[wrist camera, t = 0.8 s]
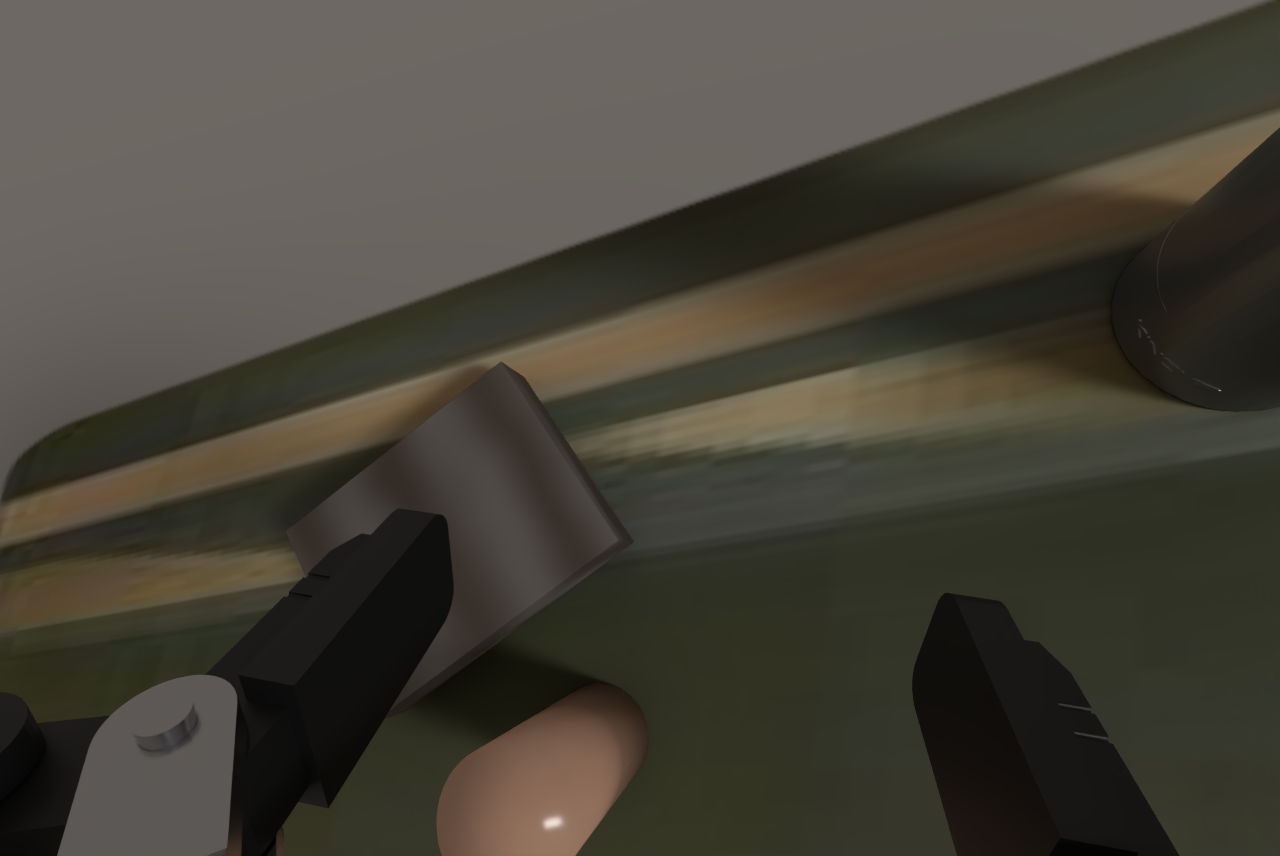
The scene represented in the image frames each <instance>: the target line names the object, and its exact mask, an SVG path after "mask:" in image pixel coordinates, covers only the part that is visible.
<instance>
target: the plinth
mask: <svg viewBox="0 0 1280 856" xmlns="http://www.w3.org/2000/svg"><path fill="white" fill-rule="evenodd" d="M399 508H400V509H408V510H414V511H421V512H428V513H434V514H441V515H443V516H444V517H445V518H446V520H447V524H448V531H449V541H450V551H451V561H452V571H453V582H454V593H453V600H452V604H451V608H450V611H449V614H448V616H447V619H446V621H445V623H444V624H443V626H442V628H441V629H440V631H439V632H438V634H437V636H436V637H435V639H434V640H433V642H432V644H431V645H430V647H429V648H428V650H427V652H426V653H425V655H424V656H423V658H422V660H421V661H420V663H419V664H418V666H417V667H416V669H415V671H414V672H413V674H412V675H411V677H410V679H409V680H408V682H407V683H406V685H405V687H404V688H403V690H402V691H401V693H400V695H399V696H398V698H397V699H396V701H395V703H394V704H393V706H392V707H391V709H390V711H389V712H388V714H387V715H386V717H385V718H388V717H390V716H393V715H395V714H398V713H401V712H403V711H406V710H408V709H410V708H411V707H412V706H414V705H415V704H416V703H418V702H419V701H420V700H422V699H423V698H424V697H426V696H427V695H428V694H430V693H431V692H432V691H434V690H435V689H436V688H438V687H439V686H440V685H442V684H443V683H444V682H446V681H447V680H449V679H450V678H451V677H453V676H454V675H455V674H457V673H458V672H459V671H461V670H462V669H463V668H465V667H466V666H467V665H469V664H470V663H471V662H473V661H474V660H475V659H477V658H478V657H479V656H481V655H482V654H484V653H485V652H486V651H488V650H489V649H490V648H492V647H493V646H494V645H496V644H497V643H498V642H500V641H501V640H502V639H504V638H505V637H506V636H508V635H509V634H510V633H512V632H513V631H514V630H516V629H517V628H519V627H520V626H521V625H523V624H524V623H525V622H527V621H528V620H529V619H531V618H532V617H533V616H535V615H536V614H537V613H539V612H540V611H541V610H543V609H544V608H545V607H547V606H548V605H549V604H551V603H552V602H553V601H555V600H556V599H558V598H559V597H560V596H562V595H563V594H564V593H566V592H567V591H568V590H570V589H571V588H572V587H574V586H575V585H576V584H578V583H579V582H580V581H582V580H583V579H584V578H586V577H587V576H588V575H590V574H591V573H593V572H594V571H595V570H597V569H598V568H599V567H601V566H602V565H603V564H605V563H606V562H607V561H609V560H610V559H611V558H613V557H614V556H615V555H617V554H618V553H619V552H621V551H622V550H623V549H625V548H626V547H627V546H629V545H630V544H632V543H633V542H634V541H633V540H632V538H631V537H630V535H629V534H628V532H627V531H626V529H625V528H624V526H623V525H622V523H621V522H620V520H619V519H618V517H617V516H616V514H615V513H614V511H613V510H612V508H611V507H610V505H609V504H608V502H607V501H606V499H605V498H604V496H603V495H602V493H601V492H600V490H599V489H598V487H597V486H596V484H595V483H594V481H593V480H592V478H591V477H590V475H589V474H588V472H587V471H586V469H585V468H584V466H583V465H582V463H581V462H580V460H579V459H578V457H577V456H576V454H575V453H574V451H573V450H572V448H571V447H570V445H569V444H568V442H567V441H566V439H565V438H564V436H563V435H562V433H561V432H560V430H559V429H558V427H557V426H556V424H555V423H554V421H553V420H552V418H551V417H550V415H549V414H548V412H547V411H546V409H545V408H544V406H543V405H542V403H541V402H540V400H539V399H538V397H537V396H536V394H535V393H534V391H533V390H532V388H531V387H530V385H529V384H528V382H527V381H526V379H525V378H524V377H523V376H522V375H520V374H519V373H517V372H516V371H514V370H513V369H511V368H510V367H508V366H507V365H505V364H504V363H502V362H500V363H498V364H497V365H496V366H495V367H493V368H492V369H491V370H490V371H488V372H487V373H486V374H485V375H483V376H482V377H481V378H479V379H478V380H477V381H476V382H474V383H473V384H472V385H471V386H469V387H468V388H467V389H466V390H464V391H463V392H462V393H460V394H459V395H458V396H457V397H455V398H454V399H453V400H452V401H450V402H449V403H448V404H446V405H445V406H444V407H443V408H441V409H440V410H439V411H438V412H436V413H435V414H434V415H433V416H431V417H430V418H429V419H427V420H426V421H425V422H424V423H422V424H421V425H420V426H419V427H417V428H416V429H415V430H414V431H412V432H411V433H410V434H408V435H407V436H406V437H405V438H403V439H402V440H401V441H400V442H398V443H397V444H396V445H394V446H393V447H392V448H391V449H389V450H388V451H387V452H386V453H384V454H383V455H382V456H381V457H379V458H378V459H377V460H375V461H374V462H373V463H372V464H370V465H369V466H368V467H367V468H365V469H364V470H363V471H361V472H360V473H359V474H358V475H356V476H355V477H354V478H353V479H351V480H350V481H349V482H348V483H346V484H345V485H344V486H342V487H341V488H340V489H339V490H337V491H336V492H335V493H334V494H332V495H331V496H330V497H329V498H327V499H326V500H325V501H323V502H322V503H321V504H320V505H318V506H317V507H316V508H315V509H313V510H312V511H311V512H309V513H308V514H307V515H306V516H304V517H303V518H302V519H301V520H299V521H298V522H297V523H296V524H294V525H293V526H292V527H290V528H289V529H288V530H287V531H286V533H287V535H288V538H289V540H290V542H291V544H292V547H293V549H294V551H295V553H296V555H297V558H298V560H299V562H300V564H301V566H302V569H303V571H304V573H305V575H306V578H307V576H308V572H309V571H310V570H311V569H313V568H314V567H315V566H316V565H317V564H318V563H319V562H320V561H321V560H322V559H323V558H324V557H325V556H326V555H327V554H328V553H329V552H330V551H331V550H332V549H334V548H336V547H338V546H340V545H341V544H343V543H345V542H347V541H349V540H350V539H352V538H354V537H356V536H357V535H359V534H361V533H362V534H369V535H371V534H372V533H373V532H374V531H375V530H376V529H377V528H378V527H379V525H380V524H381V523H382V522H383V521H384V520H385V519H386V518H387V517H388V516H389V515H390V514H391V513H392V512H393V511H395V510H396V509H399Z"/></svg>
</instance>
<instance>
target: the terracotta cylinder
mask: <svg viewBox="0 0 1280 856" xmlns="http://www.w3.org/2000/svg"><path fill="white" fill-rule="evenodd" d="M647 749H648V729H647V724H646V720H645V717H644V715H643V713H642V711H641V709H640V707H639V706H638V704H637V703H636V701H635V700H634V699H633V698H632V697H631V696H630V695H629V694H628V693H627V692H625V691H624V690H622V689H620V688H618V687H616V686H613V685H610V684H605V683H594V684H589V685H586V686H584V687H581V688H579V689H578V690H576V691H574V692H573V693H571V694H569V695H568V696H566V697H564V698H563V699H561V700H559V701H558V702H556V703H554V704H553V705H551V706H549V707H548V708H546V709H544V710H543V711H541V712H539V713H538V714H536V715H534V716H533V717H531V718H529V719H528V720H526V721H524V722H523V723H521V724H519V725H518V726H516V727H514V728H513V729H511V730H509V731H508V732H506V733H504V734H503V735H501V736H499V737H497V738H496V739H494V740H492V741H491V742H489V743H487V744H486V745H484V746H482V747H481V748H479V749H477V750H476V751H474V752H473V753H471V754H469V755H468V756H466V757H465V758H464V759H463V760H462V761H461V762H460V763H459V764H458V765H457V766H456V767H455V768H454V770H453V771H452V773H451V774H450V775H449V777H448V779H447V781H446V783H445V785H444V788H443V790H442V793H441V796H440V800H439V804H438V811H437V836H438V842H439V847H440V851H441V854H442V856H575V855H576V854H577V852H578V851H579V850H580V848H581V847H582V846H583V844H584V843H585V842H586V840H587V839H588V838H589V836H590V835H591V834H592V832H593V831H594V830H595V828H596V827H597V826H598V824H599V823H600V822H601V820H602V819H603V818H604V816H605V815H606V814H607V812H608V811H609V810H610V808H611V807H612V805H613V804H614V803H615V801H616V800H617V799H618V797H619V796H620V795H621V793H622V792H623V791H624V789H625V788H626V787H627V785H628V784H629V783H630V781H631V780H632V779H633V777H634V776H635V775H636V773H637V772H638V771H639V769H640V768H641V766H642V764H643V762H644V759H645V757H646V753H647Z"/></svg>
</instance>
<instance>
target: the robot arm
mask: <svg viewBox="0 0 1280 856" xmlns="http://www.w3.org/2000/svg"><path fill="white" fill-rule="evenodd" d="M1112 323H1113V327H1114V330H1115V334H1116V337H1117V341H1118V343H1119V344H1120V346H1121V348H1122V350H1123V351H1124V353H1125V355H1126V357H1127V358H1128V360H1129V361H1130V362H1131V363H1132V364H1133V365H1134V366H1135V368H1136V369H1137V370H1138V371H1139V372H1140V373H1141V374H1142V375H1143V376H1144V377H1145V378H1147V379H1148V380H1149V381H1151V382H1152V383H1153V384H1155V385H1156V386H1157V387H1159V388H1160V389H1161V390H1163V391H1165V392H1167V393H1169V394H1171V395H1173V396H1175V397H1177V398H1179V399H1181V400H1183V401H1186V402H1190V403H1193V404H1196V405H1200V406H1203V407H1206V408H1211V409H1219V410H1227V411H1234V412H1238V411H1262V410H1267V409H1271V408H1276V407H1280V128H1279V129H1277V130H1276V131H1275V132H1274V133H1273V134H1272V135H1271V136H1270V137H1269V138H1267V139H1266V140H1265V141H1264V142H1263V143H1262V144H1261V145H1260V146H1258V147H1257V148H1256V149H1255V150H1254V151H1253V152H1252V153H1251V154H1249V155H1248V156H1247V157H1246V158H1245V159H1244V160H1243V161H1242V162H1241V163H1239V164H1238V165H1237V166H1236V167H1235V168H1234V169H1233V170H1232V171H1230V172H1229V173H1228V174H1227V175H1226V176H1225V177H1224V178H1223V179H1221V180H1220V181H1219V182H1218V183H1217V184H1216V185H1215V186H1214V187H1213V188H1211V189H1210V190H1209V191H1208V192H1207V193H1206V194H1205V195H1204V196H1202V197H1201V198H1200V199H1199V200H1198V201H1197V202H1196V203H1195V204H1193V205H1192V206H1191V207H1190V208H1188V209H1187V210H1186V211H1185V212H1184V213H1183V214H1182V215H1181V216H1180V217H1178V218H1177V219H1176V220H1175V221H1174V222H1173V223H1172V224H1171V225H1170V226H1168V227H1167V228H1166V229H1165V230H1164V231H1163V232H1162V233H1161V234H1160V235H1158V236H1157V237H1156V238H1155V239H1154V240H1153V241H1152V242H1151V243H1150V244H1148V245H1147V246H1146V247H1145V248H1144V249H1143V250H1142V251H1141V252H1140V253H1139V254H1138V255H1137V256H1136V257H1135V258H1134V259H1133V260H1132V261H1131V262H1130V263H1129V265H1128V266H1127V267H1126V268H1125V270H1124V272H1123V273H1122V275H1121V277H1120V279H1119V281H1118V283H1117V284H1116V288H1115V292H1114V296H1113V300H1112ZM453 593H454V582H453V571H452V561H451V551H450V541H449V531H448V524H447V520H446V518H445V517H444V516H443V515H441V514H434V513H428V512H421V511H414V510H408V509H400V508H399V509H396V510H395V511H393V512H392V513H391V514H390V515H389V516H388V517H387V518H386V519H385V520H384V521H383V522H382V523H381V524H380V525H379V527H378V528H377V529H376V530H375V531H374V532H373V533H372V534H371V535H369V534H362V533H361V534H359V535H357V536H356V537H354V538H352V539H350V540H349V541H347V542H345V543H343V544H341V545H340V546H338V547H336V548H334V549H332V550H331V551H330V552H329V553H328V554H327V555H326V556H325V557H324V558H323V559H322V560H321V561H320V562H319V563H318V564H317V565H316V566H315V567H314V568H313V569H311V570H310V571H309V572H308V576H307V578H304V577H303V578H302V579H301V580H300V581H299V582H298V583H297V584H296V585H295V586H294V587H293V588H292V589H291V590H290V591H289V595H288V597H283V598H282V599H281V600H280V601H279V602H278V603H277V604H276V605H275V606H274V607H273V608H272V609H271V610H270V611H269V612H268V613H267V614H266V615H265V616H264V617H263V618H262V619H261V620H260V621H259V622H258V623H257V624H256V625H255V626H254V627H253V628H252V629H251V630H250V631H249V632H248V633H247V634H246V635H245V636H244V637H243V638H242V639H241V640H240V641H239V642H238V643H237V644H236V645H235V646H234V647H233V648H232V649H231V650H230V651H229V652H228V653H227V654H226V655H225V656H224V657H223V658H222V659H221V660H220V661H219V662H218V663H217V664H216V665H215V666H214V667H213V668H212V669H211V670H210V671H208V672H207V673H206V674H205V675H193V676H185V677H181V678H177V679H173V680H170V681H167V682H164V683H161V684H159V685H157V686H154V687H152V688H150V689H148V690H146V691H144V692H142V693H141V694H139V695H137V696H135V697H134V698H132V699H131V700H129V701H128V702H126V703H125V704H124V705H122V706H121V707H120V708H119V709H117V710H116V711H115V712H114V713H113V714H112V715H111V716H103V717H93V718H84V719H74V720H64V721H55V722H45V723H37V722H36V720H35V719H34V717H33V715H32V713H31V712H30V710H29V708H28V706H27V705H26V703H25V702H24V701H23V700H22V698H20V697H18V696H16V695H14V694H10V693H3V692H0V856H284V832H283V828H282V825H283V824H284V822H285V821H286V819H287V818H288V816H289V815H290V813H291V812H292V810H293V809H294V807H295V806H296V804H297V803H298V802H302V803H306V804H311V805H315V806H320V807H325V808H329V806H330V805H331V803H332V802H333V800H334V798H335V797H336V795H337V794H338V792H339V790H340V789H341V787H342V786H343V784H344V782H345V781H346V779H347V778H348V776H349V774H350V773H351V771H352V770H353V768H354V767H355V765H356V763H357V762H358V760H359V759H360V757H361V755H362V754H363V752H364V751H365V749H366V747H367V746H368V744H369V743H370V741H371V739H372V738H373V736H374V735H375V733H376V731H377V730H378V728H379V727H380V725H381V723H382V722H383V720H384V719H385V717H386V715H387V714H388V712H389V711H390V709H391V707H392V706H393V704H394V703H395V701H396V699H397V698H398V696H399V695H400V693H401V691H402V690H403V688H404V687H405V685H406V683H407V682H408V680H409V679H410V677H411V675H412V674H413V672H414V671H415V669H416V667H417V666H418V664H419V663H420V661H421V660H422V658H423V656H424V655H425V653H426V652H427V650H428V648H429V647H430V645H431V644H432V642H433V640H434V639H435V637H436V636H437V634H438V632H439V631H440V629H441V628H442V626H443V624H444V623H445V621H446V619H447V616H448V614H449V611H450V608H451V604H452V600H453ZM912 692H913V701H914V706H915V710H916V713H917V717H918V720H919V724H920V727H921V731H922V734H923V738H924V741H925V745H926V748H927V752H928V755H929V759H930V762H931V766H932V769H933V773H934V776H935V780H936V783H937V787H938V790H939V794H940V797H941V801H942V804H943V808H944V811H945V815H946V818H947V822H948V825H949V829H950V832H951V836H952V839H953V843H954V846H955V850H956V853H957V856H1179V854H1178V853H1177V851H1176V849H1175V848H1174V846H1173V844H1172V842H1171V841H1170V839H1169V837H1168V836H1167V834H1166V832H1165V831H1164V829H1163V827H1162V826H1161V824H1160V822H1159V821H1158V819H1157V817H1156V816H1155V814H1154V812H1153V811H1152V809H1151V807H1150V805H1149V804H1148V802H1147V800H1146V799H1145V797H1144V795H1143V794H1142V792H1141V790H1140V789H1139V787H1138V785H1137V784H1136V782H1135V780H1134V779H1133V777H1132V775H1131V774H1130V772H1129V770H1128V768H1127V767H1126V765H1125V763H1124V762H1123V760H1122V758H1121V757H1120V755H1119V753H1118V752H1117V750H1116V748H1115V747H1114V745H1113V744H1111V743H1109V742H1108V735H1107V733H1106V731H1105V730H1104V728H1103V726H1102V725H1101V723H1100V721H1099V720H1098V718H1097V716H1096V715H1095V714H1092V713H1091V706H1090V705H1089V703H1088V701H1087V699H1086V698H1085V696H1084V694H1083V693H1082V691H1081V689H1080V688H1079V686H1078V684H1077V683H1076V681H1075V679H1074V678H1073V676H1072V674H1071V673H1070V672H1069V671H1068V670H1067V669H1066V668H1065V667H1064V666H1063V665H1062V664H1061V663H1060V662H1059V661H1058V660H1057V659H1056V658H1055V657H1053V656H1052V655H1051V654H1050V653H1049V652H1048V651H1047V650H1046V649H1045V648H1044V647H1043V646H1042V645H1041V644H1040V643H1039V642H1033V641H1027V640H1024V639H1023V637H1022V635H1021V633H1020V632H1019V630H1018V628H1017V626H1016V624H1015V622H1014V620H1013V619H1012V617H1011V615H1010V613H1009V611H1008V609H1007V608H1006V606H1005V605H1004V604H1003V603H1002V602H1000V601H997V600H990V599H984V598H977V597H971V596H964V595H958V594H951V593H945V594H943V595H942V596H941V597H940V599H939V601H938V603H937V606H936V608H935V611H934V614H933V616H932V619H931V622H930V625H929V627H928V630H927V633H926V635H925V638H924V641H923V644H922V646H921V649H920V652H919V654H918V657H917V660H916V663H915V666H914V671H913V680H912Z"/></svg>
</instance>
